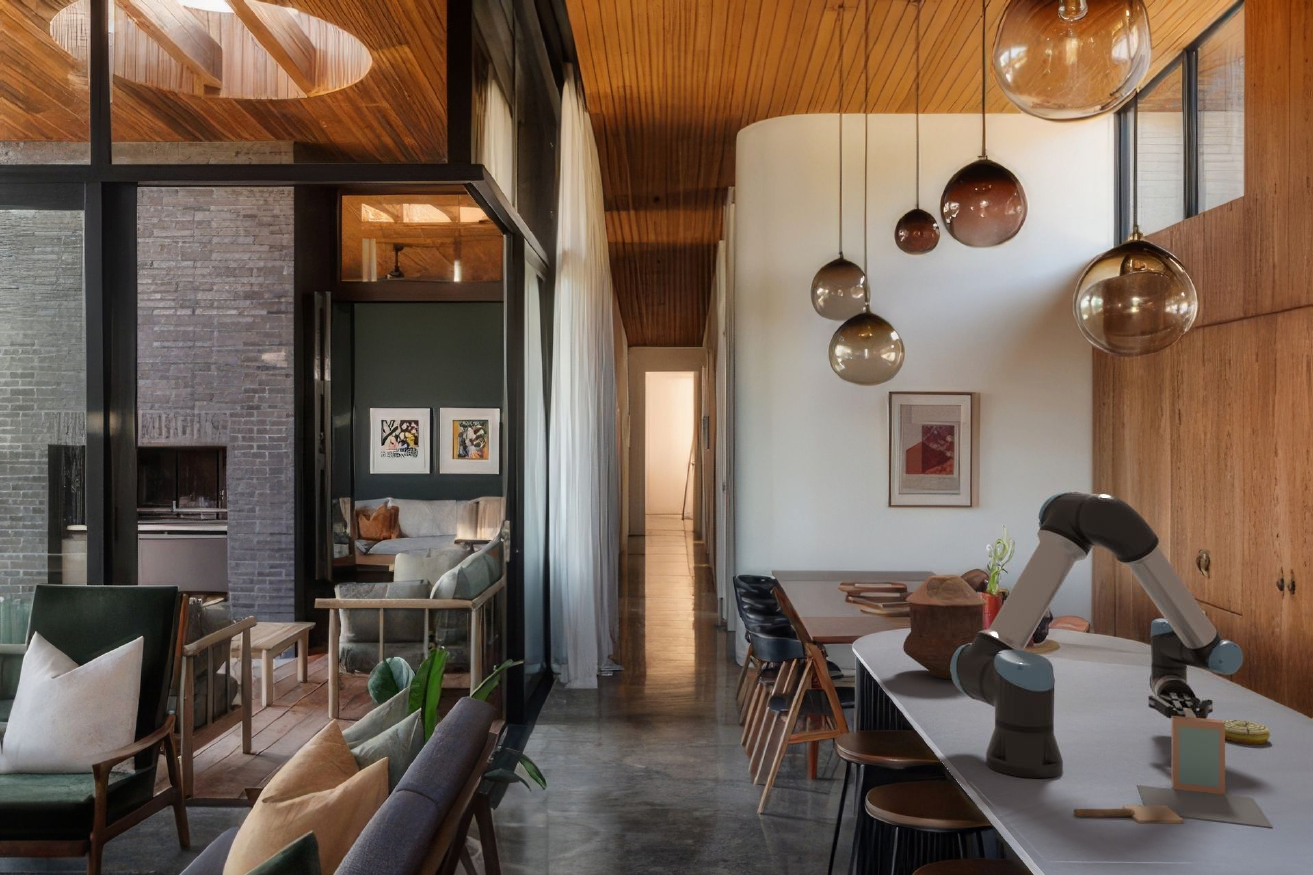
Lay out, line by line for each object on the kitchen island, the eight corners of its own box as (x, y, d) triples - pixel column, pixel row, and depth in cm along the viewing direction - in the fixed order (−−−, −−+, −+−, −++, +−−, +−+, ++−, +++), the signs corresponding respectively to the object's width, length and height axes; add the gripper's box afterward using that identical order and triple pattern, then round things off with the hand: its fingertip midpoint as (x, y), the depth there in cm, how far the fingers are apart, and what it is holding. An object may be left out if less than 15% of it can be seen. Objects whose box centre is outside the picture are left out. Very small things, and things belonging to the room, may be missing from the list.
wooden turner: (1082, 824, 177) (1082, 816, 177) (1068, 809, 183) (1068, 802, 183) (1183, 822, 177) (1183, 815, 176) (1166, 808, 183) (1166, 801, 182)
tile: (1173, 789, 195) (1173, 718, 195) (1171, 786, 197) (1171, 715, 197) (1225, 795, 192) (1224, 722, 192) (1222, 791, 194) (1222, 720, 194)
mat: (1146, 813, 181) (1146, 811, 181) (1137, 786, 196) (1137, 784, 196) (1272, 829, 174) (1272, 826, 174) (1252, 799, 189) (1252, 797, 189)
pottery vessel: (1000, 688, 280) (1000, 581, 280) (907, 684, 284) (907, 579, 284) (984, 668, 305) (985, 571, 306) (899, 665, 309) (899, 569, 310)
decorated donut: (1234, 731, 238) (1234, 715, 238) (1279, 742, 229) (1279, 726, 229) (1206, 736, 234) (1206, 720, 234) (1251, 748, 224) (1251, 731, 224)
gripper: (1207, 714, 223) (1228, 743, 201) (1143, 709, 228) (1157, 737, 206) (1207, 681, 224) (1227, 706, 201) (1143, 677, 228) (1156, 701, 206)
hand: (1192, 722), depth 204 cm, fingers closed
